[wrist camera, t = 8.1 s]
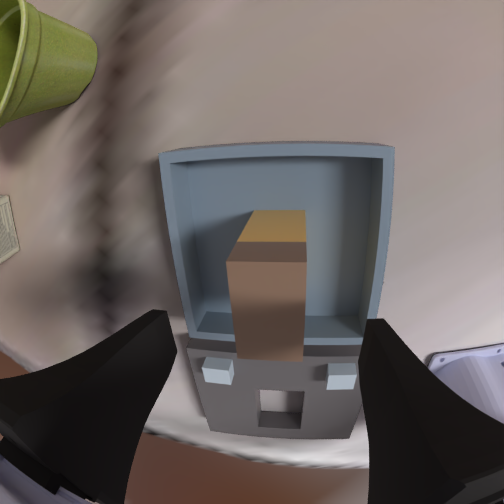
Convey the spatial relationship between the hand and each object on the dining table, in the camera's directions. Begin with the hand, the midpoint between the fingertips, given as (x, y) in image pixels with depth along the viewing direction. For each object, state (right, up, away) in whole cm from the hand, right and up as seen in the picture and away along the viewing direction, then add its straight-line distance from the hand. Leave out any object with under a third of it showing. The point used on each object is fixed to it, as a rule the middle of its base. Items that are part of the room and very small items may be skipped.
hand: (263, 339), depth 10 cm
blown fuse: (+1, +3, +8) cm, 9 cm away
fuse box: (+2, -9, +14) cm, 17 cm away
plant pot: (-14, +17, +6) cm, 23 cm away
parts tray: (+1, +4, +8) cm, 9 cm away
